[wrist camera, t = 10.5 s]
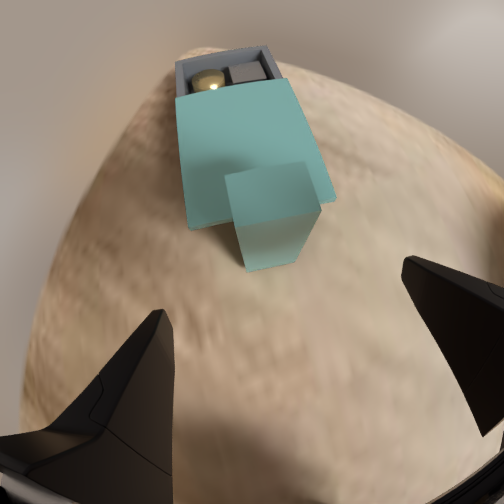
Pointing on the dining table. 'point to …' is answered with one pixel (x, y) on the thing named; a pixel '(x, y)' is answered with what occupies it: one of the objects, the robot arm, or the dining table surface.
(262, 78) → the steel part
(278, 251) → the teal stepped block
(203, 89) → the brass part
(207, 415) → the dining table surface
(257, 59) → the grey box
